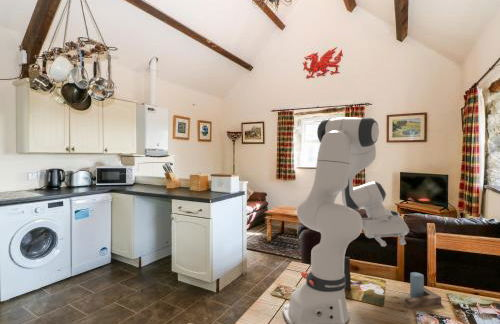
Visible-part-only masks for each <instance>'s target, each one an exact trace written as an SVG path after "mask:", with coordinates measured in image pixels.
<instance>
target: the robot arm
mask: <svg viewBox="0 0 500 324" xmlns="http://www.w3.org/2000/svg"><path fill="white" fill-rule="evenodd" d="M316 133H317V134H316V135H317V139H318V141H319V143H320V145H319V148H318V152H317V158H316V159H317V160H316V168H315V176H314V181H313V184H312V187H311V189H310V192H309V194H308V196H307V197H306V199H304V200H303V201H302V202H301V203H299V206H298V207H297V210H296V211H297V214H296V216H297V219H298V221H299V222H300V224H302V225H303V226H305V227H306V228H308V229H310V230H312V231H315V232H318V233H320V241H319V243H318V244H316V245H314V246H313V247H312V249H311V252H310V255H311V256H310V265H311V266H310V271H309V273H308V272H306V271H305V270H303V271H302V272H301V274H300V275H301V276H302V278H303V279H304V280H305V282H304V283H303V284H302V285H300V286H299V287H298V288H297V289H295V290H294V291H293V292H292V293H291V295H290V297H289V302H288V303H286V304H284V305H283V308H282V312H283V313H282V314H283V317H284V318H285V321H286V322H287V323H288V324H347V323H348V321H349V319H350V313H349V310H348V306H347V301H346V293H345V291H346V289H345V287H346V279H345V274H344V259H345V255H346V251H347V248H348V246H349V244H350V243H352V242H353V241H354V240H356V239H357V238H358V237H359V236H360V235H361V233H362V231H363V233H364V235H365V237H366V238H368V239H375V241H376V242H378V244H380V246H381V247H386V246H387V243H386V240H383V239H382V238H386V237H387V238H388V237H398V238H399V239H400V240H399V244H400V246H403V245H404V246H405V245H406V244H407V242H406V240H405V236H407V235H408V234H409V233H410V229H409V226H408V224H407V223H406V222H405V220H404V219H403V218H402V217H401V214H400V213H399V212H398V211H395V210H392V209H388V208H386V206H385V205H384V204H383V202H384V201H385V198H386V197H387V194H386V191H385V189H384V187H383V186H382V184H381V183H379V182H377V181H374V180H373V181H369V182H366V183H363V184H360V185H358V186H355V187H354V178H355V177H356V176H357V174H359V173H360V172H361V171H363V170H365V169H366V168H368V167H369V166H370V165H372V164H373V162H374V161H375V159H376V157H377V150H376V143H377V142H378V138H379V133H380V129H379V124H378V122H377V120H375V119H374V118H372V117H367V116H365V117H348V116H343V117H335V118H332V117H331V118H327V119H323V120H322V121H321V122H320V123H319V124H318V127H317V130H316ZM340 192H341V200H342V204H338V203H335V200H336V198H337V197H338V194H339V193H340ZM362 208H363V210H365V213H366V216H367V217H362V216H361V213H360V212H358V211H357V210H359V209H362Z"/></svg>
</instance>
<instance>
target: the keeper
mask: <svg viewBox="0 0 500 324" xmlns="http://www.w3.org/2000/svg"><path fill="white" fill-rule="evenodd" d="M409 274H410V276H409V277H410V278H409V280H410V281H409V283H410V284H409V285H410V286H409V287H410V288H409V290H410V293H409V298H414V297H421V296H424V285H425V276H424V274H422V273H420V272H416V271H413V272H410V273H409Z"/></svg>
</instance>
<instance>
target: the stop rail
mask: <svg viewBox="0 0 500 324" xmlns="http://www.w3.org/2000/svg"><path fill="white" fill-rule="evenodd" d="M404 301H405V302H404V303H405V304H404V305H405V306H406V307H407V308H408V309H414V308H415V309H416V308H421V307H429V306H430V307H431V306H435V305H441V304H442V296H440V295H438V294H437V293H434V291H432V290H430V289H428V288H426V287H424V296H421V297H414V298H411V297H408V298H405V299H404Z"/></svg>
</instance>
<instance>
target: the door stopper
mask: <svg viewBox="0 0 500 324" xmlns="http://www.w3.org/2000/svg"><path fill="white" fill-rule="evenodd" d="M350 259H351V258H350V256H347V255H346V256H345V259H344V274H345V279H346V287H345V290H347V289H349V290H350V291H351V290H352V283H351V260H350ZM349 290H348V291H349Z"/></svg>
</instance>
